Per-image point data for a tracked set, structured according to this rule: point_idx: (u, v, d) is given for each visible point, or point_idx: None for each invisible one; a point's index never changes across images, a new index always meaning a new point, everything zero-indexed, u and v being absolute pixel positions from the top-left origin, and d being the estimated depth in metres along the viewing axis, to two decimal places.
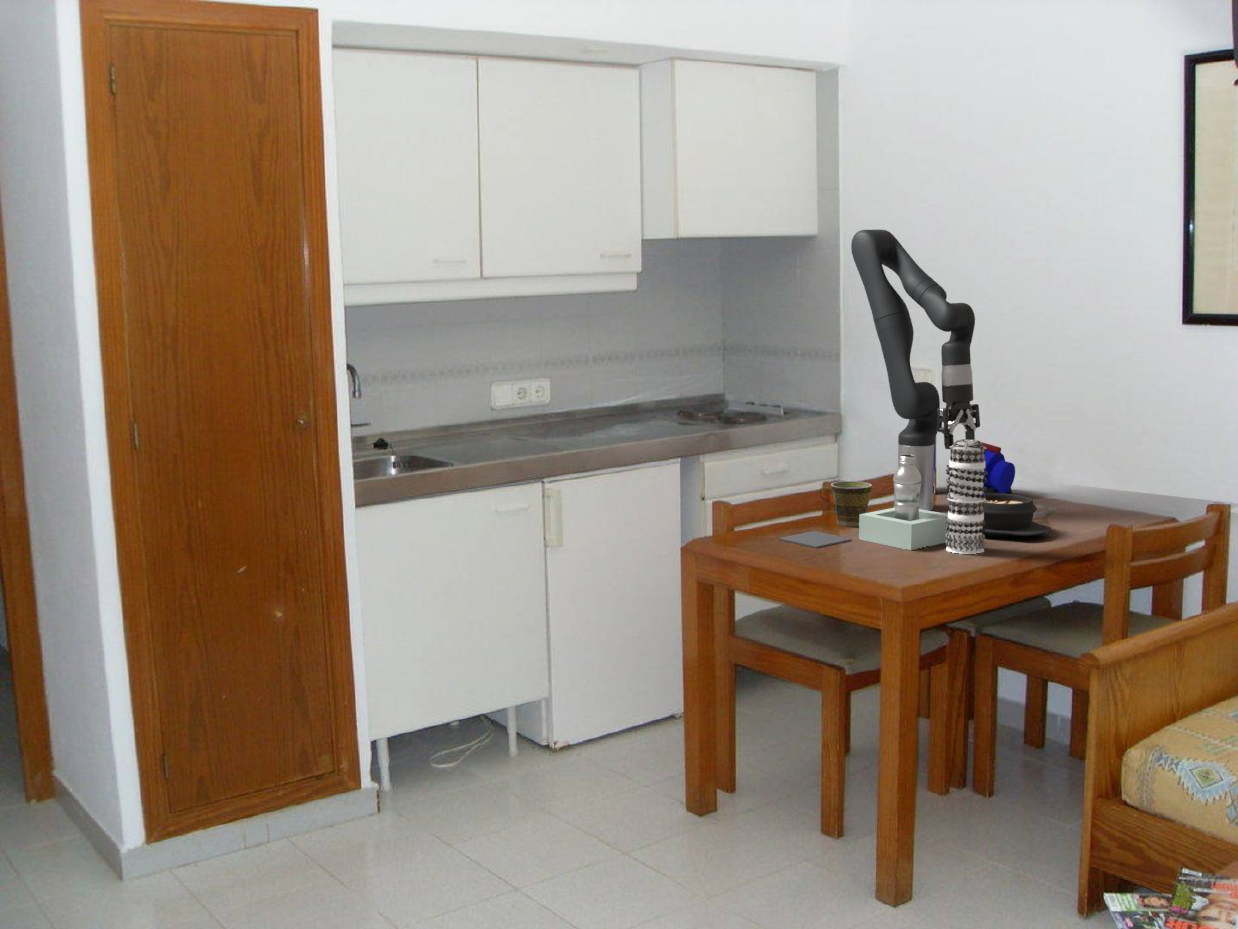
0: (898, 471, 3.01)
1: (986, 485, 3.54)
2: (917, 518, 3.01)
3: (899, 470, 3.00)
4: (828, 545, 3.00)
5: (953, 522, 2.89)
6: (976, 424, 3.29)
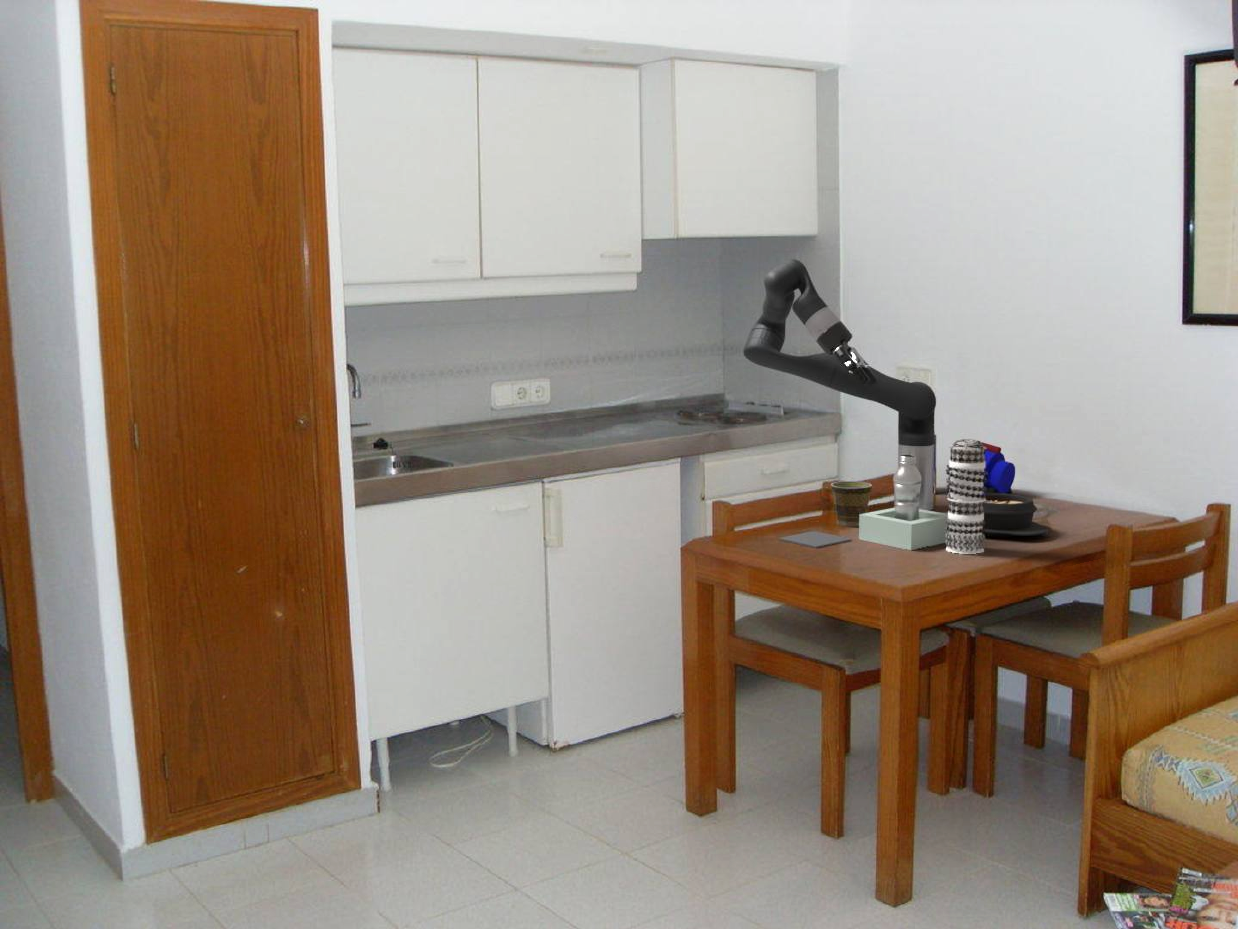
0: (898, 471, 3.01)
1: (986, 485, 3.54)
2: (917, 518, 3.01)
3: (899, 470, 3.00)
4: (828, 545, 3.00)
5: (953, 522, 2.89)
6: (865, 364, 3.11)
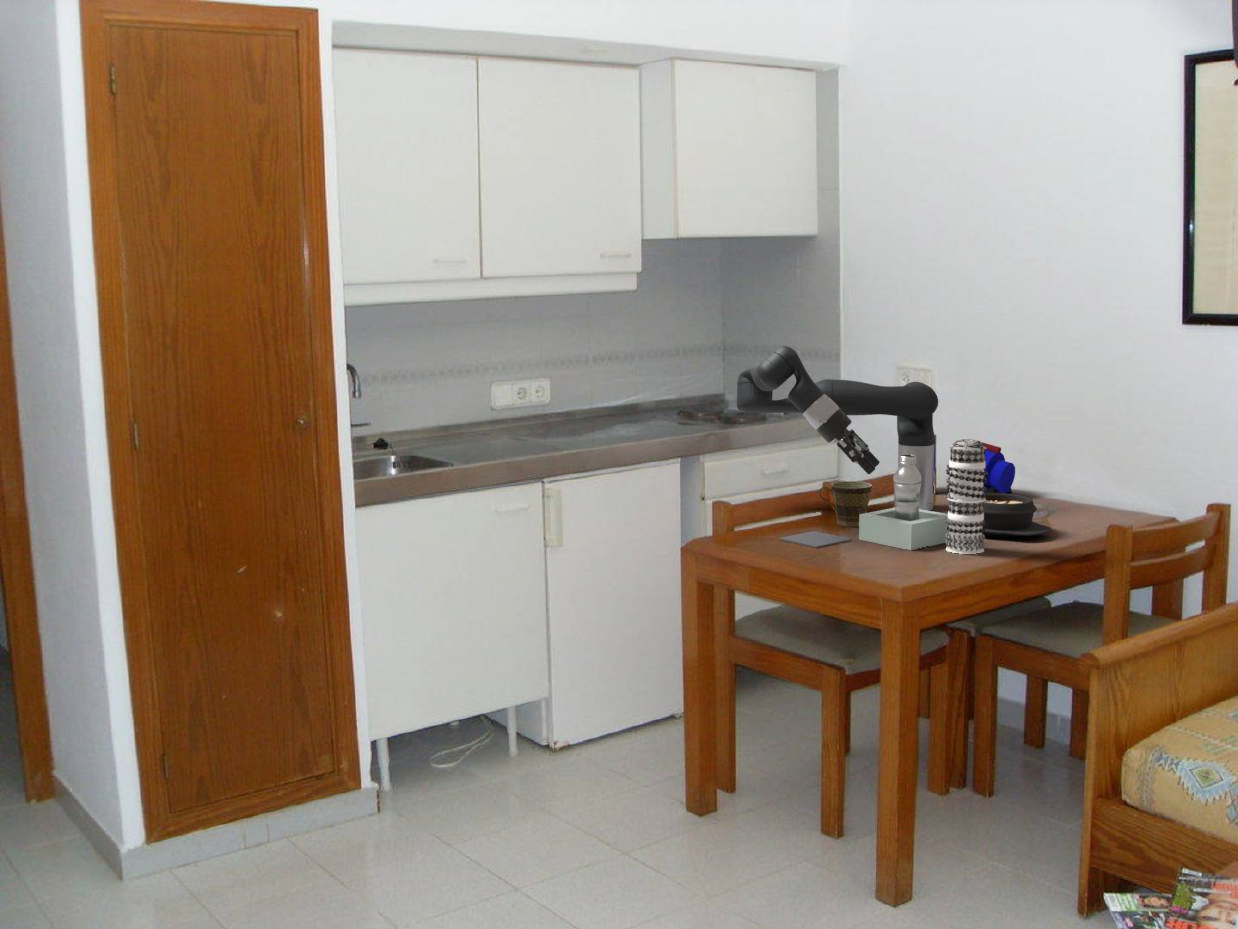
0: (898, 471, 3.01)
1: (986, 485, 3.54)
2: (917, 518, 3.01)
3: (899, 470, 3.00)
4: (828, 545, 3.00)
5: (953, 522, 2.89)
6: (865, 445, 3.08)
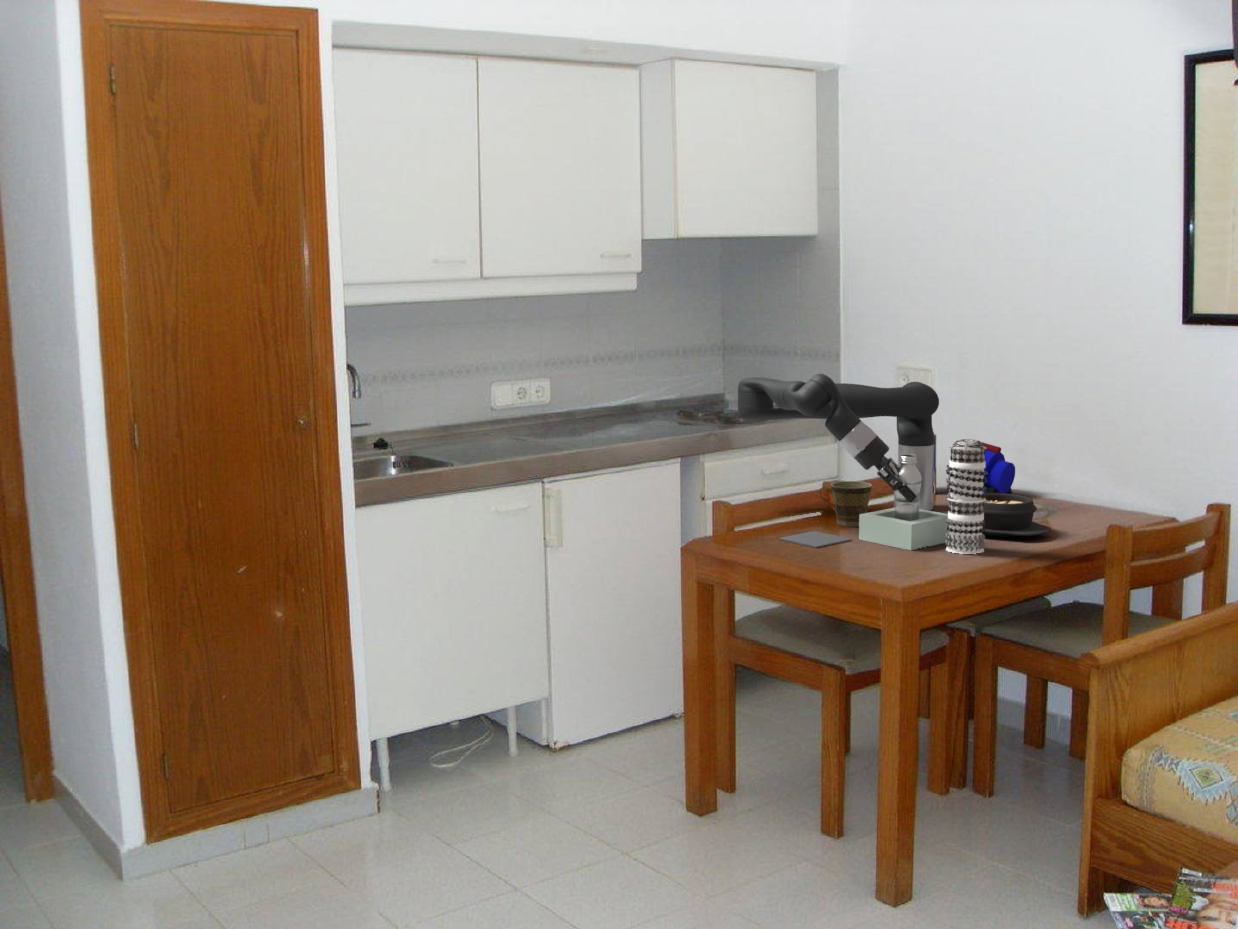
0: (898, 471, 3.01)
1: (986, 485, 3.54)
2: (917, 518, 3.01)
3: (899, 470, 3.00)
4: (828, 545, 3.00)
5: (953, 522, 2.89)
6: None
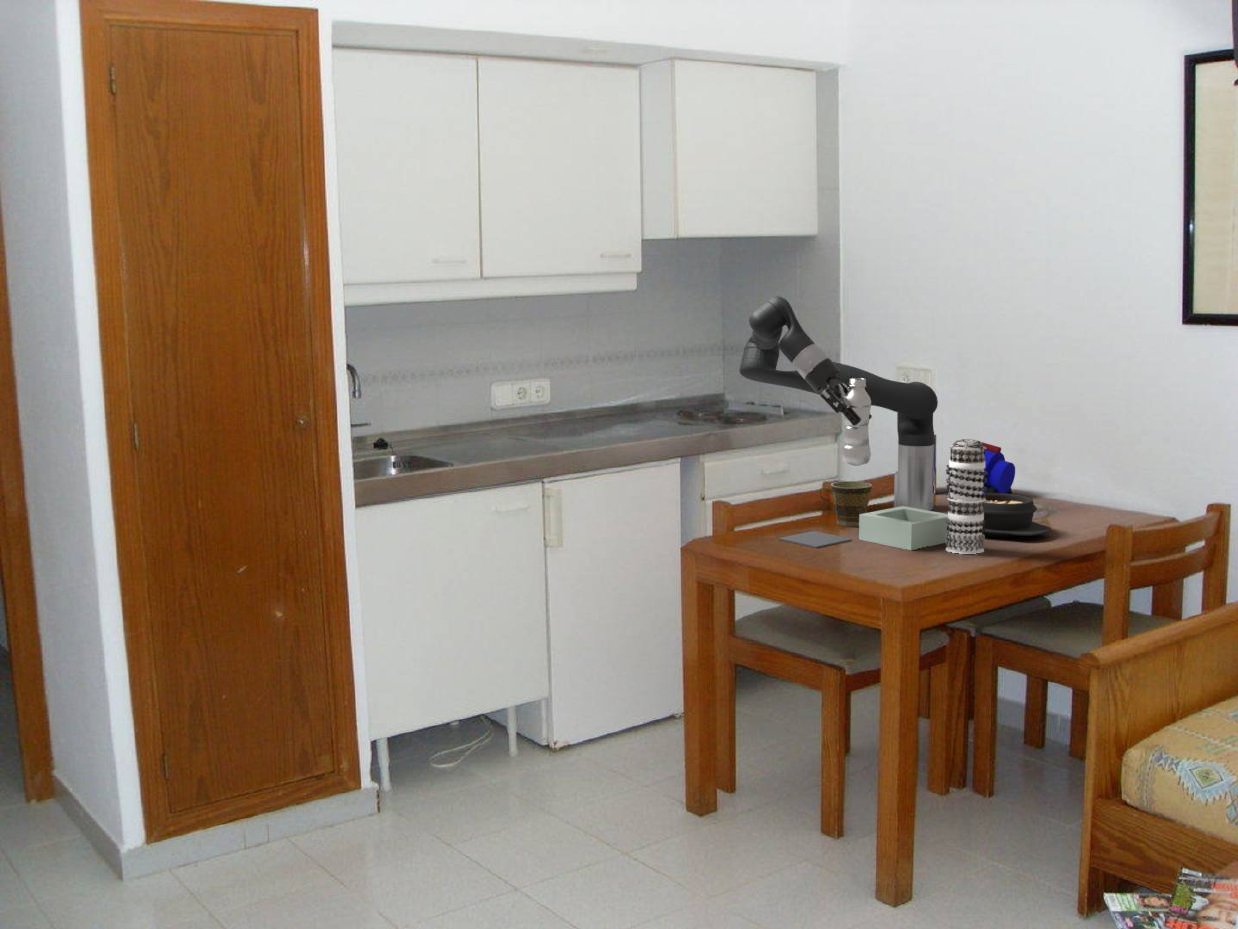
0: (846, 394, 2.97)
1: (986, 485, 3.54)
2: (864, 442, 2.97)
3: (847, 393, 2.97)
4: (828, 545, 3.00)
5: (953, 522, 2.89)
6: None
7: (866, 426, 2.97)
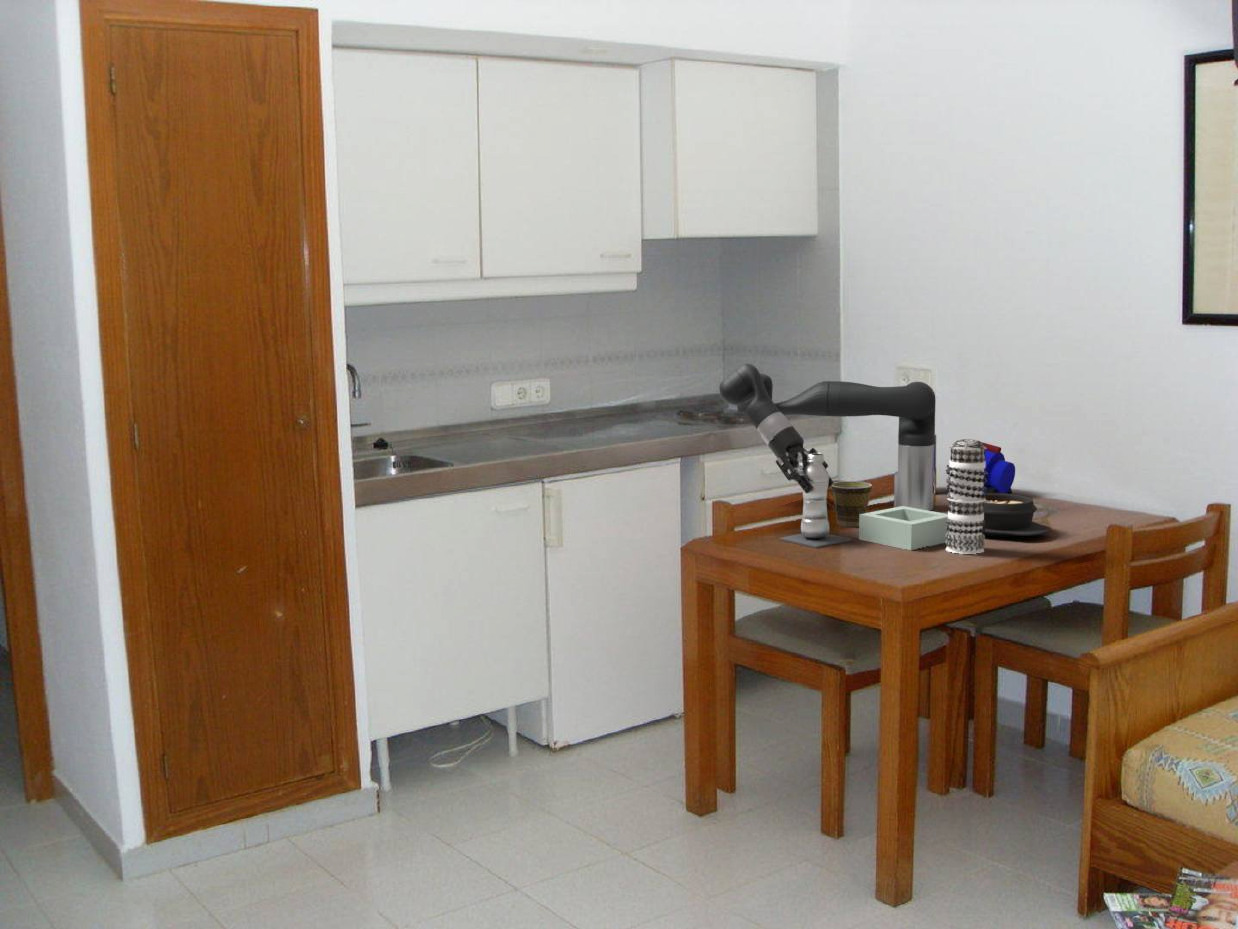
0: (804, 469, 3.03)
1: (986, 485, 3.54)
2: (821, 517, 3.02)
3: (805, 468, 3.03)
4: (828, 545, 3.00)
5: (953, 522, 2.89)
6: (823, 465, 3.08)
7: (823, 501, 3.02)
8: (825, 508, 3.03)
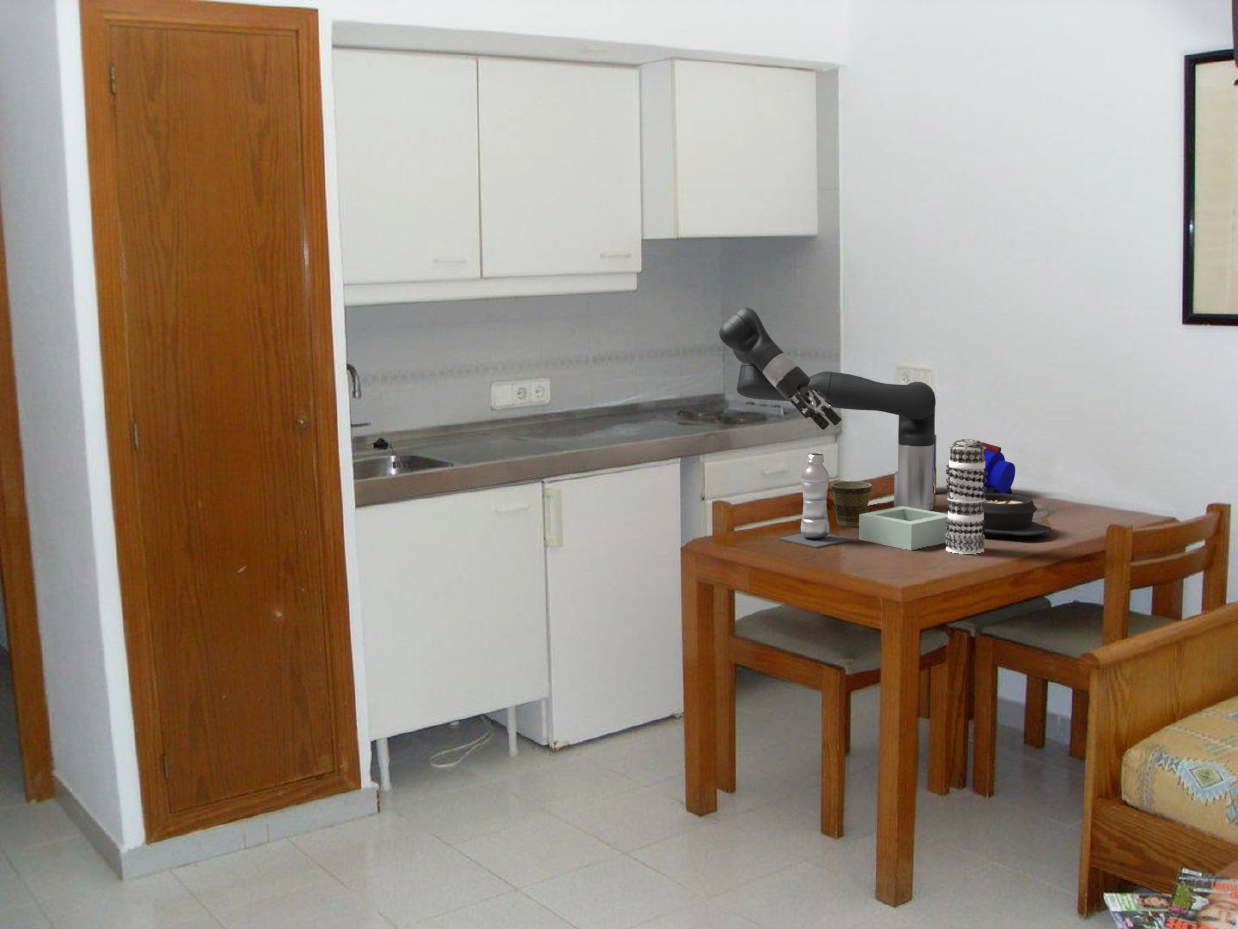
0: (804, 469, 3.03)
1: (986, 485, 3.54)
2: (821, 517, 3.02)
3: (805, 468, 3.03)
4: (828, 545, 3.00)
5: (953, 522, 2.89)
6: (828, 403, 3.12)
7: (823, 501, 3.02)
8: (825, 508, 3.03)
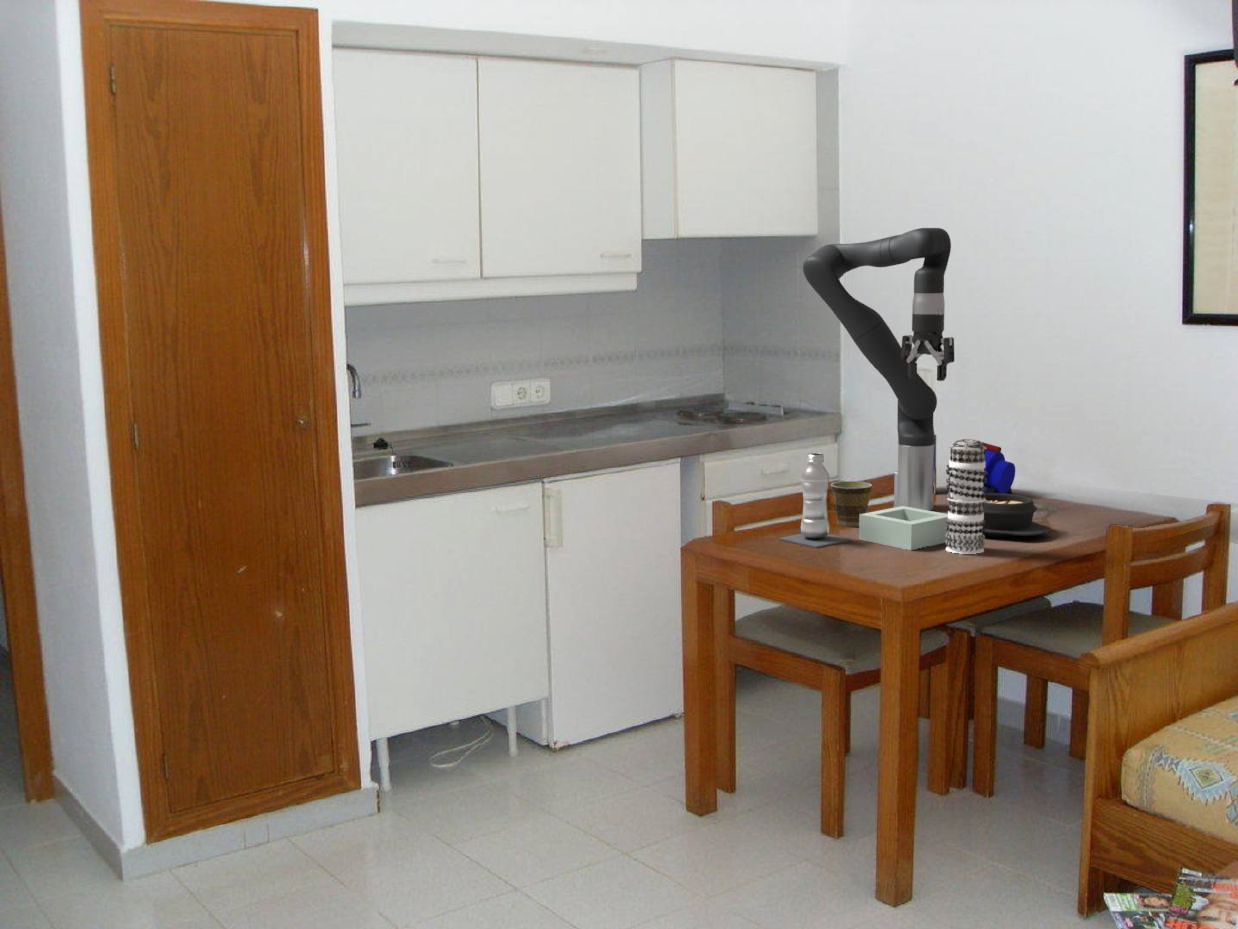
0: (804, 469, 3.03)
1: (986, 485, 3.54)
2: (821, 517, 3.02)
3: (805, 468, 3.03)
4: (828, 545, 3.00)
5: (953, 522, 2.89)
6: None
7: (823, 501, 3.02)
8: (825, 508, 3.03)
